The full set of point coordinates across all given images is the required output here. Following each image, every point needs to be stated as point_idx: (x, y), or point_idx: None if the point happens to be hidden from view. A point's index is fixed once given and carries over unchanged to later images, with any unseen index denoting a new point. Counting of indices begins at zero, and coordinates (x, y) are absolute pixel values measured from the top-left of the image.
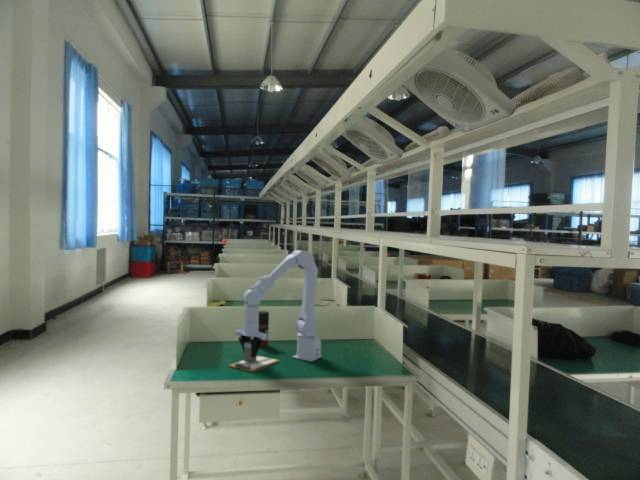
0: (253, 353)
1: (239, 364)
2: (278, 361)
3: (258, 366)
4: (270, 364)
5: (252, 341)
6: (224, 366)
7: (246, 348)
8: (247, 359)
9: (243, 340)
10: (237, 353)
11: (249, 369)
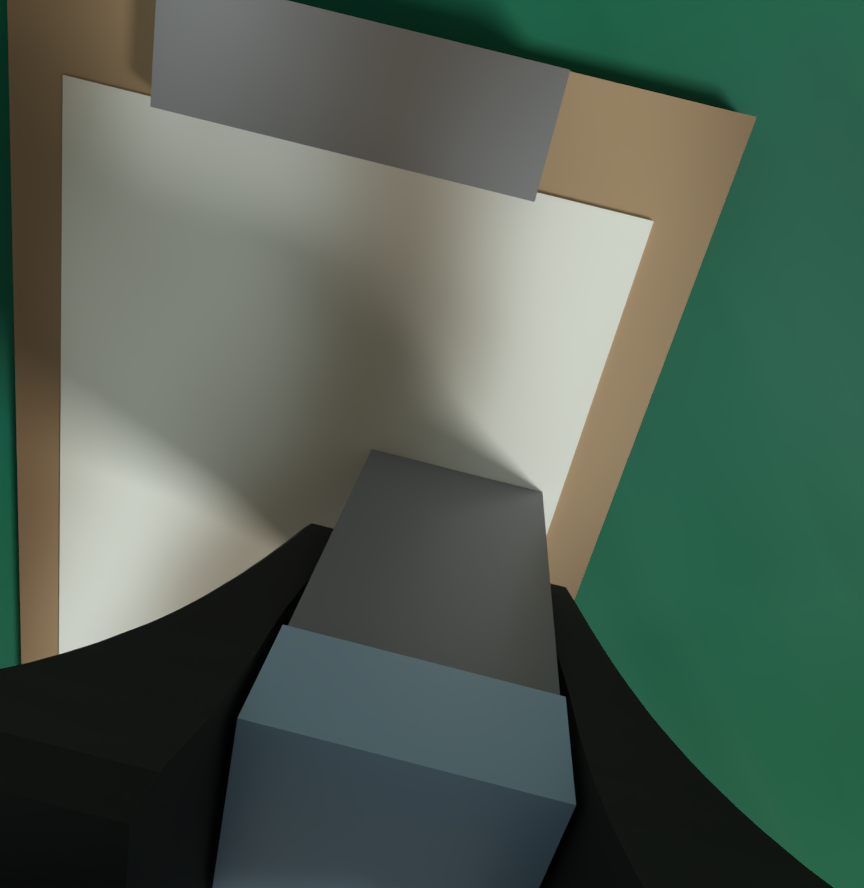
0: (271, 555)
1: (427, 42)
2: (28, 661)
3: (100, 267)
4: (20, 480)
5: (12, 723)
6: (854, 106)
7: (471, 647)
8: (450, 490)
9: (608, 878)
10: (858, 870)
11: (153, 5)
